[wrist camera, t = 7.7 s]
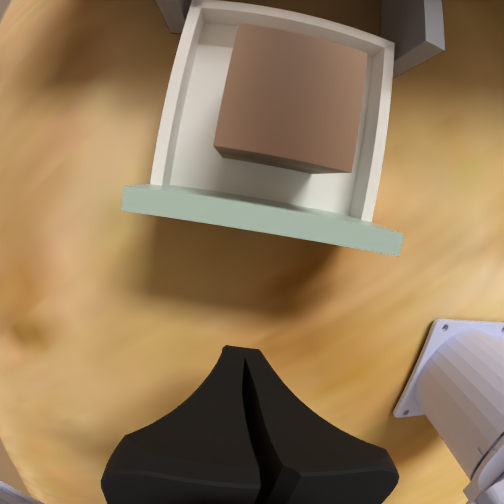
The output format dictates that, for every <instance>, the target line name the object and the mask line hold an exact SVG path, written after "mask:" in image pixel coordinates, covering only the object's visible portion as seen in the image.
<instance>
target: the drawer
mask: <svg viewBox="0 0 504 504" xmlns="http://www.w3.org/2000/svg"><path fill="white" fill-rule="evenodd" d="M239 23H244V24H251V25H258V26H264V27H270V28H275V29H280V30H285V31H290V32H295V33H299V34H303V35H308V36H312V37H316V38H319V39H323V40H327V41H330V42H334V43H337V44H341V45H344V46H347V47H350V48H354V49H357V50H360V51H363V52H366V53H367V64H366V74H365V84H364V92H363V101H362V108H361V116H360V123H359V130H358V137H357V143H356V150H355V156H354V162H353V168H352V173H327V174H309V173H305V172H300V171H295V170H290V169H285V168H280V167H274V166H269V165H264V164H258V163H252V162H246V161H240V160H234V159H228V158H222V157H221V155H220V154H219V153H218V151H217V150H216V149H215V147H214V146H213V143H214V138H215V132H216V127H217V122H218V116H219V111H220V106H221V101H222V96H223V92H224V87H225V82H226V77H227V73H228V68H229V64H230V59H231V55H232V50H233V46H234V42H235V38H236V33H237V29H238V25H239ZM394 46H395V43H393V42H391V41H388V40H386V39H383V38H381V37H378V36H375V35H373V34H370V33H367V32H364V31H361V30H359V29H356V28H352V27H349V26H346V25H343V24H340V23H336V22H333V21H329V20H326V19H322V18H318V17H314V16H310V15H306V14H302V13H298V12H293V11H288V10H283V9H278V8H273V7H267V6H261V5H254V4H247V3H239V2H230V1H219V0H192V2H191V5H190V8H189V12H188V15H187V18H186V21H185V25H184V28H183V31H182V35H181V38H180V42H179V45H178V49H177V53H176V57H175V60H174V64H173V68H172V72H171V76H170V81H169V85H168V89H167V94H166V98H165V103H164V107H163V112H162V117H161V122H160V127H159V133H158V138H157V144H156V149H155V155H154V161H153V168H152V174H151V181H150V184H138V185H126V186H124V190H123V199H122V208H121V211H127V212H134V213H141V214H148V215H155V216H162V217H168V218H175V219H182V220H188V221H195V222H201V223H208V224H214V225H220V226H227V227H233V228H239V229H245V230H251V231H258V232H264V233H270V234H276V235H282V236H288V237H293V238H299V239H305V240H311V241H317V242H322V243H328V244H334V245H339V246H345V247H350V248H356V249H361V250H367V251H372V252H378V253H383V254H388V255H394V256H399V254H400V250H401V246H402V242H403V238H404V234H402V233H400V232H397V231H395V230H392V229H389V228H387V227H384V226H381V225H379V224H376V223H373V222H372V217H373V212H374V208H375V202H376V197H377V192H378V187H379V181H380V175H381V169H382V163H383V157H384V150H385V143H386V136H387V128H388V120H389V111H390V102H391V91H392V79H393V65H394Z"/></svg>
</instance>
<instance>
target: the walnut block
mask: <svg viewBox="0 0 504 504" xmlns="http://www.w3.org/2000/svg"><path fill="white" fill-rule="evenodd" d="M366 64H367V53H366V52H363V51H360V50H357V49H354V48H350V47H347V46H344V45H341V44H337V43H334V42H330V41H327V40H323V39H319V38H316V37H312V36H308V35H303V34H299V33H295V32H290V31H285V30H280V29H275V28H270V27H264V26H258V25H251V24H244V23H239V25H238V29H237V33H236V38H235V42H234V46H233V50H232V55H231V59H230V64H229V68H228V73H227V77H226V82H225V87H224V92H223V96H222V101H221V106H220V111H219V116H218V122H217V127H216V132H215V138H214V143H213V146H214V147H215V149H216V150H217V151H218V153H219V154H220V155H221V157H222V158H228V159H234V160H240V161H246V162H252V163H258V164H264V165H269V166H274V167H280V168H285V169H290V170H295V171H300V172H305V173H309V174H327V173H352V168H353V162H354V156H355V150H356V143H357V137H358V130H359V123H360V116H361V108H362V101H363V92H364V84H365V74H366Z"/></svg>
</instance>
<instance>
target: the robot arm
mask: <svg viewBox="0 0 504 504" xmlns="http://www.w3.org/2000/svg"><path fill="white" fill-rule="evenodd" d="M444 325H445V326H444ZM443 326H444V328H443ZM442 328H443V329H442ZM393 415H394V416H395V417H396V418H402V417H411V416H419V415H426V417H427V418H428V420H429V421H430V422H431V424H432V425H433V427H434V428H435V429H436V431H437V432H438V434H439V435H440V437H441V438H442V440H443V441H444V442H445V444H446V445H447V447H448V448H449V450H450V451H451V453H452V454H453V456H454V457H455V458H456V460H457V461H458V463H459V464H460V466H461V467H462V469H463V470H464V472H465V473H466V475H467V476H468V478H469V479H470V481H471V482H470V483H469V484H468V485H467V486H466V487H465V489H464V490H463V492H464V493H465V495H466V497H467V498H468V502H467V503H466V504H504V322H491V321H472V320H456V319H441V318H439V319H436V320H435V321H434V322H433V324H432V326H431V328H430V331H429V334H428V336H427V339H426V341H425V344H424V346H423V349H422V351H421V354H420V356H419V358H418V361H417V363H416V365H415V368H414V370H413V372H412V374H411V376H410V379H409V381H408V383H407V385H406V387H405V389H404V391H403V393H402V395H401V397H400V399H399V401H398V403H397V405H396V407H395V409H394V411H393ZM398 480H399V474H398V472H397V469H396V467H395V465H394V463H393V461H392V459H391V457H390V456H389V454H388V452H387V451H386V449H383V448H380V447H378V446H375V445H372V444H370V443H367V442H365V441H362V440H360V439H358V438H356V437H354V436H352V435H350V434H348V433H346V432H344V431H342V430H340V429H338V428H337V427H335V426H333V425H332V424H330V423H329V422H327V421H326V420H324V419H323V418H321V417H320V416H319V415H317V414H316V413H315V412H313V411H312V410H311V409H310V408H308V407H307V406H306V405H305V404H304V403H303V402H301V401H300V400H299V399H298V398H297V397H296V396H295V395H294V394H293V393H292V392H291V391H290V390H289V388H288V387H287V386H286V385H285V384H284V383H283V382H282V380H281V379H280V378H279V376H278V375H277V374H276V373H275V371H274V370H273V369H272V367H271V366H270V364H269V363H268V361H267V360H266V358H265V357H264V355H263V354H262V353H261V351H260V350H259V349H251V348H243V347H235V346H228V345H226V346H224V347H223V349H222V353H221V356H220V358H219V360H218V362H217V363H216V365H215V367H214V368H213V370H212V371H211V373H210V374H209V376H208V377H207V378H206V379H205V381H204V382H203V383H202V384H201V386H200V387H199V388H198V389H197V390H196V391H195V392H194V393H193V394H192V395H191V396H190V397H189V398H188V399H187V400H186V401H184V402H183V403H182V404H181V405H179V406H178V407H177V408H176V409H174V410H173V411H172V412H170V413H169V414H167V415H166V416H164V417H162V418H161V419H159V420H157V421H156V422H154V423H152V424H150V425H148V426H146V427H144V428H142V429H140V430H137V431H135V432H133V433H130V434H128V435H125V436H124V438H123V439H122V440H121V442H120V443H119V444H118V446H117V447H116V449H115V450H114V452H113V454H112V455H111V457H110V459H109V461H108V463H107V465H106V468H105V471H104V473H103V476H102V479H101V488H102V491H103V493H104V496H105V499H106V501H107V504H382V503H383V501H384V500H385V499H386V498H387V497H388V496H389V495H390V493H391V492H392V491H393V490H394V488H395V487H396V485H397V483H398ZM0 504H44V503H42V502H40V501H38V500H36V499H34V498H32V497H30V496H28V495H26V494H24V493H22V492H20V491H18V490H16V489H15V488H13V487H11V486H9V485H7V484H6V483H4V482H2V481H1V480H0Z"/></svg>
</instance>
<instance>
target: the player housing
mask: <svg viewBox="0 0 504 504" xmlns="http://www.w3.org/2000/svg"><path fill="white" fill-rule="evenodd" d="M155 1H156V3H157V5H158V8H159V10H160V12H161V14H162V16H163V18H164V20H165V22H166V24H167V26H168V28H169V30H170V32H171V33H182V31H183V28H184V25H185V21H186V18H187V15H188V12H189V8H190V5H191V2H192V0H155ZM380 37H381V38H383V39H386V40H388V41H391V42H393V43H395V46H394V65H393V78H395V77H397V76H399V75H401V74H402V73H404V72H406V71H408V70H410V69H411V68H413V67H415V66H417V65H419V64H420V63H422V62H424V61H426V60H428V59H430V58H432V57H434V56H435V55H437V54H439V53H441V52H443V51H445V40H444V23H443V11H442V2H441V0H381V31H380Z"/></svg>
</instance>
